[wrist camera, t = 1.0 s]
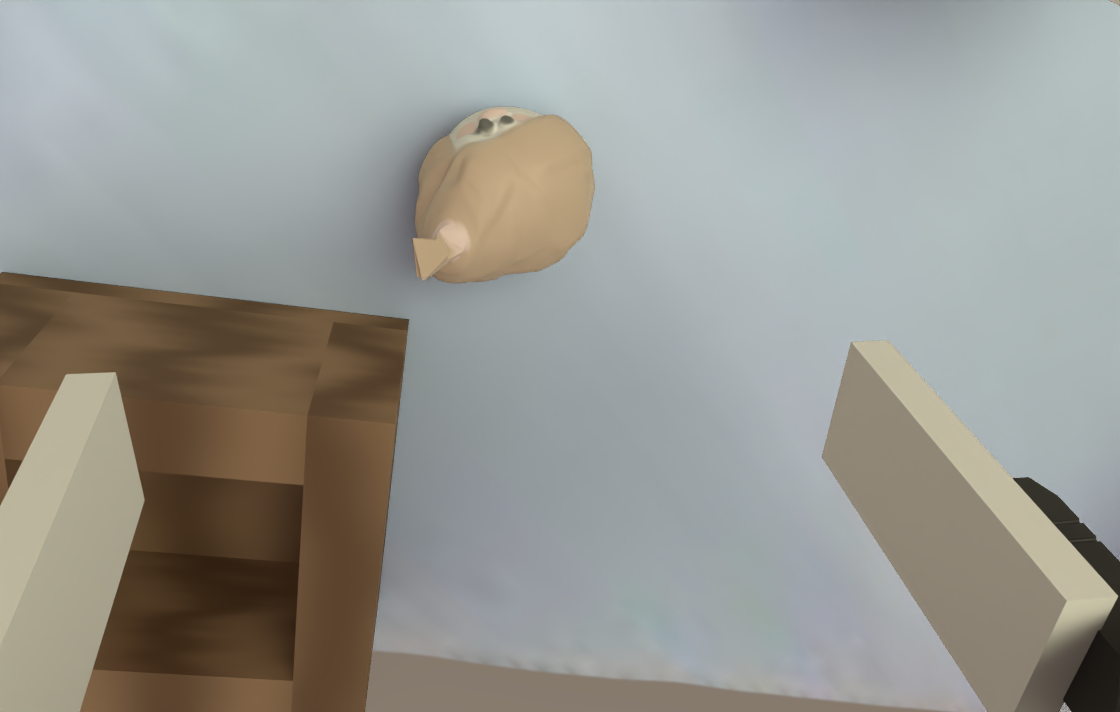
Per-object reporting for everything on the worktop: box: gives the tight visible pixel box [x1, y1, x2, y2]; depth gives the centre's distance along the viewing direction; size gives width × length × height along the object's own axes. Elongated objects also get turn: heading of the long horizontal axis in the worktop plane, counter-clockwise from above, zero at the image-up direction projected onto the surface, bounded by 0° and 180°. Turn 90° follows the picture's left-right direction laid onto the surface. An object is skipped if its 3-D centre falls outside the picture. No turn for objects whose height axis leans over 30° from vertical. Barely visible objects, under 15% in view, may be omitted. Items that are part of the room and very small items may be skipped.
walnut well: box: [0, 272, 409, 712], centre depth 39 cm, size 16×16×8 cm
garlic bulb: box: [412, 107, 594, 283], centre depth 33 cm, size 7×6×8 cm
